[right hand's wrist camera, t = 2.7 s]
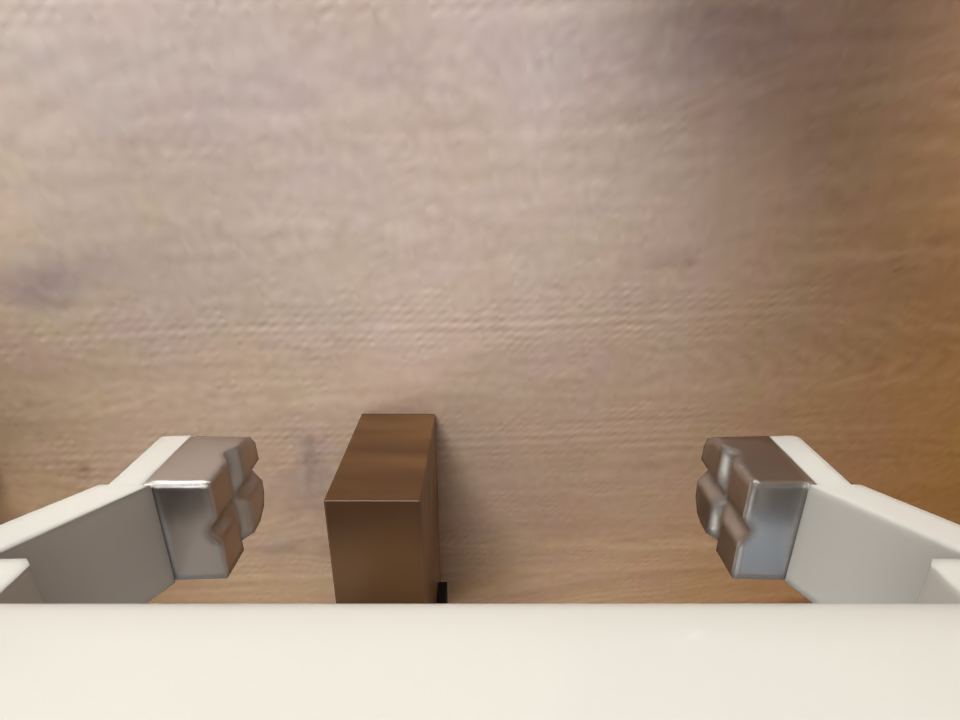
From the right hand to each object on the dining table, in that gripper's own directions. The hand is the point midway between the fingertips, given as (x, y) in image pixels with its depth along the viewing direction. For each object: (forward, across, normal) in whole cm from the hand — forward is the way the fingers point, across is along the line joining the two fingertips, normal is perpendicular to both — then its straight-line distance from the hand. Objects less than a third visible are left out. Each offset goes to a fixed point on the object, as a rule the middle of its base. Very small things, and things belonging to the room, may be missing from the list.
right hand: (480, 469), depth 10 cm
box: (+31, -7, -25) cm, 40 cm away
